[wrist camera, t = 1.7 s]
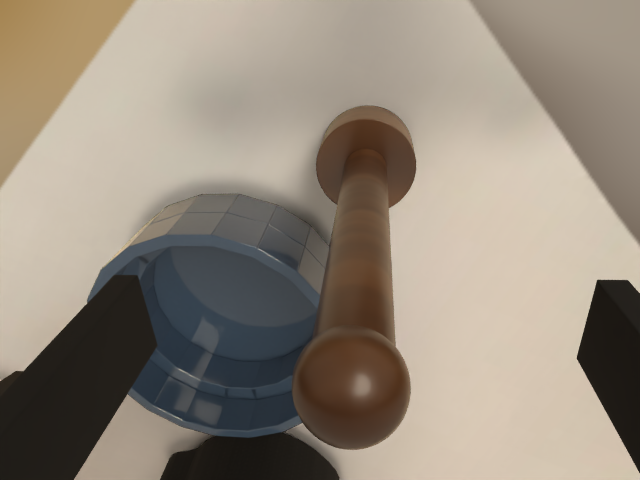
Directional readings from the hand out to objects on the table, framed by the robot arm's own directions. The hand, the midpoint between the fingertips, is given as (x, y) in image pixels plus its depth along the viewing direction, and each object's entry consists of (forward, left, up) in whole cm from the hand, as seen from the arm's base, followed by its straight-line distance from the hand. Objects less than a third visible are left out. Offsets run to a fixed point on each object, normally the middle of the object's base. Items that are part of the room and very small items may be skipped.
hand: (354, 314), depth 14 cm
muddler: (0, 0, -15) cm, 15 cm away
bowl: (+10, -9, -15) cm, 20 cm away
